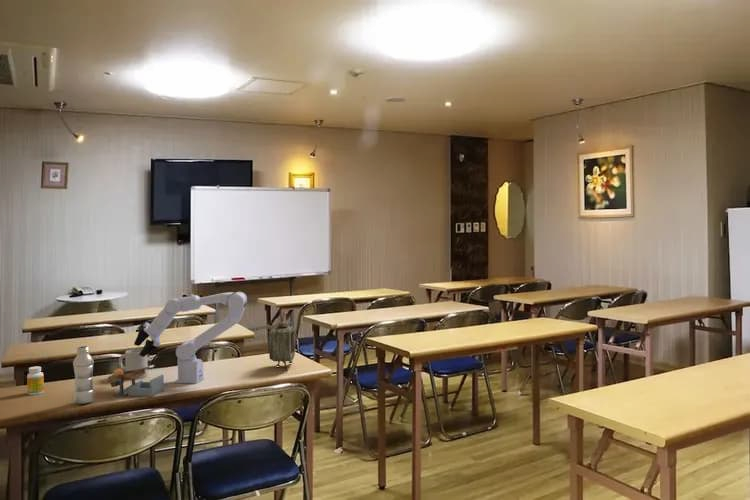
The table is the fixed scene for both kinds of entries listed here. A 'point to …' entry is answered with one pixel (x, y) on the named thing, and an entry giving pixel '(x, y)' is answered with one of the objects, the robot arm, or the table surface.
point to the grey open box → (147, 387)
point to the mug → (134, 361)
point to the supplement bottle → (35, 381)
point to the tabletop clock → (282, 342)
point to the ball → (118, 372)
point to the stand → (122, 391)
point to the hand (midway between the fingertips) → (138, 350)
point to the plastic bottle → (83, 376)
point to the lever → (128, 375)
